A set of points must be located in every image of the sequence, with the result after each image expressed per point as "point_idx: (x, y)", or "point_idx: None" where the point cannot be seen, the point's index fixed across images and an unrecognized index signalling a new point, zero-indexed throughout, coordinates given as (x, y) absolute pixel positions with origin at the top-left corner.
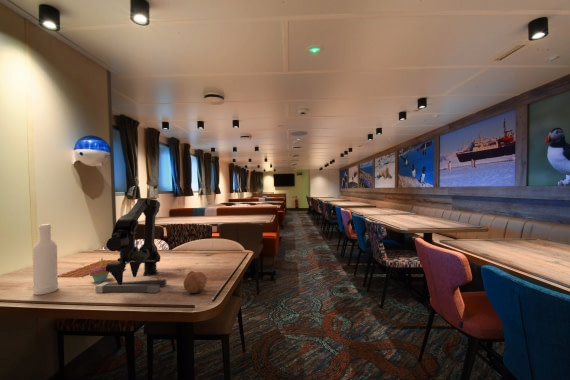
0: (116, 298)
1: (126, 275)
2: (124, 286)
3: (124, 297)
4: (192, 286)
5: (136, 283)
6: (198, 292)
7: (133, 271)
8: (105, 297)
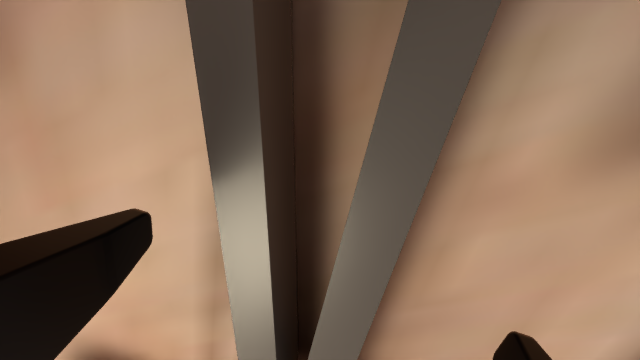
0: (593, 246)
1: None
2: (395, 262)
3: (614, 162)
4: None
5: (271, 137)
6: None
7: (57, 319)
8: (489, 343)
